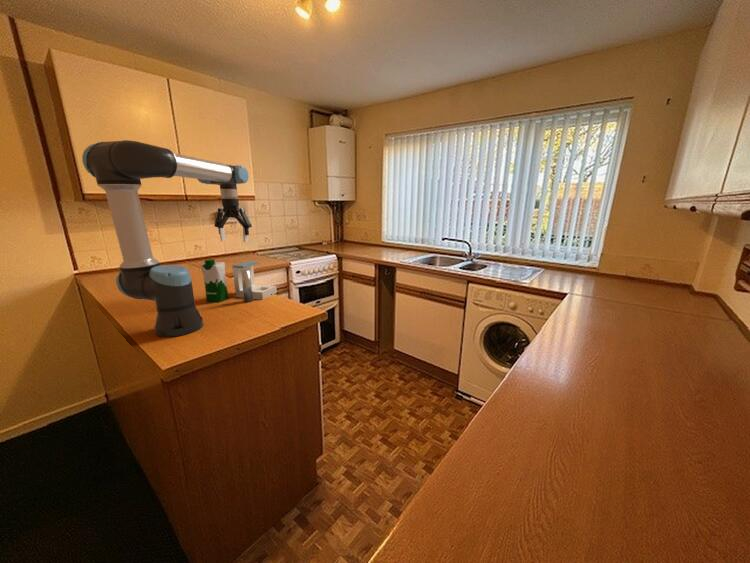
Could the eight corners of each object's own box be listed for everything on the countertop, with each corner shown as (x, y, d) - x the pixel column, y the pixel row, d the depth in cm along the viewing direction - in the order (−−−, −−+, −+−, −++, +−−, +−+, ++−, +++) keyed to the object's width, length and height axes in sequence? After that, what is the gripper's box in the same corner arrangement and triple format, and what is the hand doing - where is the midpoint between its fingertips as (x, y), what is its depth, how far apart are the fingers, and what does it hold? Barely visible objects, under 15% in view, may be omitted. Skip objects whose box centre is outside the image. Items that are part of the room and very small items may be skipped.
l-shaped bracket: (262, 299, 145) (259, 266, 141) (236, 296, 149) (232, 265, 145) (276, 292, 156) (274, 262, 152) (251, 290, 160) (248, 261, 156)
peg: (249, 302, 140) (246, 271, 137) (242, 301, 141) (238, 271, 138) (255, 300, 144) (251, 269, 140) (248, 299, 145) (244, 269, 141)
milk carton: (203, 302, 141) (197, 260, 136) (215, 296, 150) (209, 257, 145) (221, 302, 140) (215, 261, 135) (231, 297, 149) (226, 257, 144)
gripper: (256, 198, 147) (260, 241, 152) (214, 198, 153) (219, 239, 158) (246, 198, 140) (251, 242, 145) (202, 198, 146) (208, 241, 151)
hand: (234, 241), depth 152 cm, fingers open, 13 cm apart
